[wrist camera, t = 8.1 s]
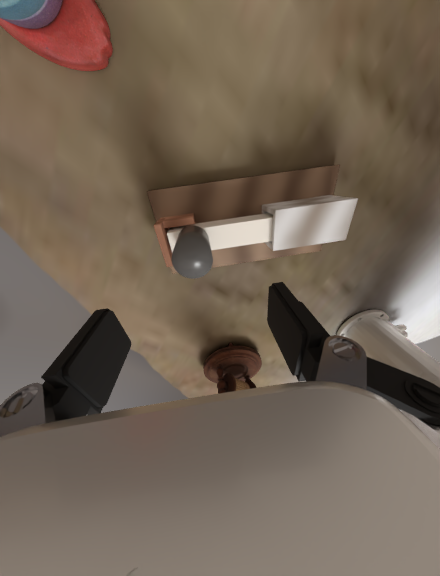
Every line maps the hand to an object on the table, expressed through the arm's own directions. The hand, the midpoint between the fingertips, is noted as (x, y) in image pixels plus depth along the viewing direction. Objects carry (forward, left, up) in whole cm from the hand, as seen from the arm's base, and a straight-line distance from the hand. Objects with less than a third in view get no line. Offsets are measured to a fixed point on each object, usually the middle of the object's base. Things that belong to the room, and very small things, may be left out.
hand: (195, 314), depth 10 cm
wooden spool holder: (-3, +34, -19) cm, 39 cm away
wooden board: (-8, 0, -19) cm, 20 cm away
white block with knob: (-4, 0, -17) cm, 17 cm away
